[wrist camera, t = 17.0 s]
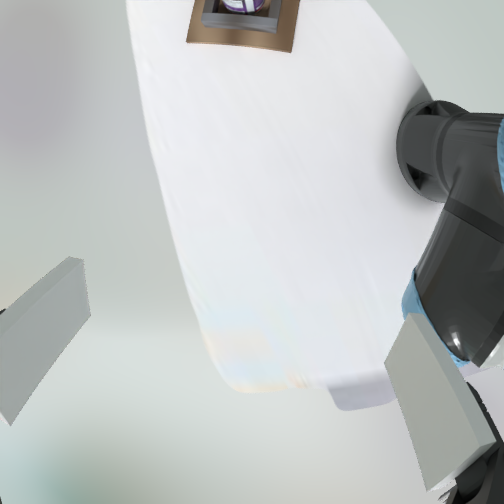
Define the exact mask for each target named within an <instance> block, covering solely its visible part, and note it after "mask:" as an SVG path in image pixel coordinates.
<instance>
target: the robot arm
mask: <svg viewBox="0 0 504 504" xmlns="http://www.w3.org/2000/svg"><path fill="white" fill-rule="evenodd" d="M396 149H397V159H398V163H399V167H400V169H401V172H402V174H403V176H404V178H405V180H406V181H407V182H408V184H409V185H410V186H411V187H412V188H413V189H414V190H415V191H416V192H417V193H419V194H420V195H422V196H424V197H426V198H428V199H430V200H432V201H435V202H439V203H445V206H444V208H443V210H442V212H441V215H440V217H439V219H438V222H437V224H436V226H435V229H434V231H433V233H432V236H431V238H430V240H429V242H428V245H427V247H426V249H425V251H424V253H423V255H422V257H421V259H420V261H419V263H418V265H417V266H416V267H415V268H414V270H413V272H412V276H411V280H410V282H409V284H408V286H407V288H406V290H405V292H404V295H403V298H402V312H403V317H404V320H405V322H404V324H403V326H402V328H401V330H400V332H399V334H398V336H397V338H396V340H395V342H394V344H393V346H392V348H391V350H390V352H389V354H388V356H387V358H386V360H385V362H384V364H385V367H386V369H387V372H388V375H389V377H390V380H391V383H392V385H393V388H394V391H395V393H396V396H397V399H398V401H399V405H400V407H401V410H402V413H403V416H404V419H405V422H406V425H407V428H408V431H409V434H410V437H411V440H412V443H413V446H414V449H415V453H416V455H417V459H418V463H419V466H420V469H421V473H422V477H423V480H424V483H425V487H426V491H427V492H428V491H432V490H436V489H440V488H443V487H445V486H446V485H448V484H449V483H450V482H451V481H453V480H454V479H455V480H456V483H457V484H456V485H455V486H454V487H452V488H451V489H450V490H448V491H447V492H446V493H444V494H443V495H442V496H441V497H440V498H439V499H438V501H441V500H443V499H444V498H446V497H447V496H448V495H449V497H448V499H447V500H445V501H444V502H443V503H444V504H504V442H503V440H502V438H501V436H500V434H499V432H498V430H497V428H496V426H495V424H494V422H493V420H492V418H491V417H490V414H489V412H487V409H486V407H485V405H484V404H483V403H482V399H481V398H480V396H479V394H478V392H477V391H476V390H475V389H474V388H473V387H472V386H471V385H470V384H469V383H468V382H465V380H464V378H463V376H462V375H461V373H460V371H459V369H458V367H462V366H464V365H466V364H468V363H469V362H470V361H472V362H473V363H474V364H475V365H476V366H478V367H479V368H480V369H487V368H492V367H501V368H502V369H503V370H504V114H497V113H470V112H468V111H466V110H465V109H463V108H461V107H459V106H458V105H456V104H453V103H451V102H447V101H440V100H439V101H427V102H423V103H421V104H419V105H417V106H415V107H414V108H413V109H411V110H410V111H409V112H408V114H407V115H406V116H405V118H404V119H403V121H402V123H401V125H400V128H399V131H398V136H397V145H396ZM90 316H91V314H90V308H89V303H88V295H87V287H86V280H85V271H84V261H83V260H82V259H78V258H73V257H68V258H66V259H65V260H64V261H63V262H61V263H60V264H59V265H58V266H56V267H55V268H54V269H53V270H51V271H50V272H49V273H48V274H46V275H45V276H44V277H43V278H42V279H41V280H39V281H38V282H37V283H36V284H34V285H33V286H32V287H31V288H30V289H29V290H28V291H26V292H25V293H24V294H23V295H22V296H21V297H20V298H18V299H17V300H16V301H15V302H14V303H13V304H12V305H11V306H10V307H9V308H7V309H3V310H1V311H0V420H1V421H3V422H4V423H6V424H7V425H9V426H11V425H12V423H13V422H14V420H15V418H16V417H17V415H18V414H19V412H20V411H21V409H22V408H23V406H24V405H25V403H26V402H27V400H28V399H29V397H30V396H31V394H32V393H33V392H34V390H35V389H36V387H37V386H38V384H39V383H40V381H41V380H42V379H43V377H44V376H45V375H46V373H47V372H48V370H49V369H50V368H51V366H52V365H53V364H54V362H55V361H56V360H57V358H58V357H59V355H60V354H61V353H62V352H63V350H64V349H65V348H66V346H67V345H68V344H69V342H70V341H71V340H72V339H73V337H74V336H75V334H76V333H77V332H78V331H79V330H80V328H81V327H82V326H83V324H84V323H85V322H86V321H87V320H88V318H89V317H90ZM0 504H2V502H1V498H0Z"/></svg>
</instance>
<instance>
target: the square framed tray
mask: <svg viewBox="0 0 504 504" xmlns="http://www.w3.org/2000/svg"><path fill="white" fill-rule="evenodd" d="M299 1H300V0H265V3H264V6H263V8H262V9H261V10H260V11H259V12H258V13H256V14H254V15H252V16H249V15H237V14H231V13H230V12H229V11H228V10H227V9H226V7H225V5H224V3H223V1H222V0H195V3H194V7H193V11H192V15H191V20H190V25H189V29H188V34H187V39H186V42H187V43H204V44H222V45H234V46H245V47H254V48H262V49H269V50H276V51H282V52H288V53H291V51H292V44H293V38H294V32H295V26H296V20H297V14H298V7H299Z"/></svg>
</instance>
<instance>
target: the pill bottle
mask: <svg viewBox="0 0 504 504" xmlns="http://www.w3.org/2000/svg"><path fill="white" fill-rule="evenodd" d="M222 1H223V3H224V5H225V7H226V9H227V10H228V11H229V12H230V13H231V14H237V15H249V16H252V15H254V14H256V13H258V12H259V11H260V10H261V9H262V8H263V6H264V3H265V0H222Z"/></svg>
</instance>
